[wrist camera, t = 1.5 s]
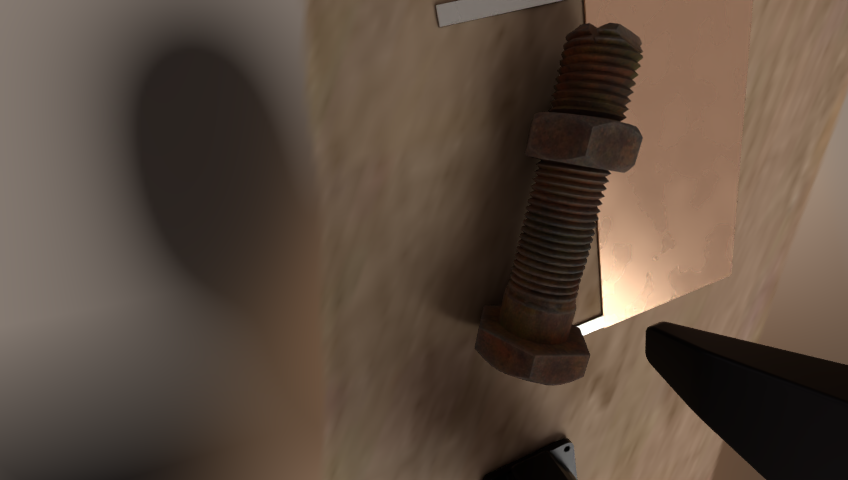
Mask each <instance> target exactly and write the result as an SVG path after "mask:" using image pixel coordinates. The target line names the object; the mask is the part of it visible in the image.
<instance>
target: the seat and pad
mask: <svg viewBox="0 0 848 480" xmlns="http://www.w3.org/2000/svg"><path fill="white" fill-rule="evenodd" d="M557 1H562V0H459V1H454V2H449V3H445V4H440V5H436V6H435V7H436V13H437V18H438V23H439V27H443V26H448V25H452V24H457V23H461V22H466V21H471V20H475V19H480V18H484V17H489V16H493V15H498V14H503V13H507V12H512V11H516V10H521V9H525V8H530V7H535V6H539V5H544V4H548V3H553V2H557ZM752 7H753V0H584V15H585V24H587V23H590V24H592V25H594V26H595V27H597V28H598V27H600V26H602V25H605V24H607V23H617V24H621V25H622V26H624V27H626V28H627V29H629V30H630V31H632V32H633V33H634V34H636V35H637V36H638V37H640V39H641V42H642V44H641V46H640V47H641V49H642V50H643V52H642V53H640V54H641V55H643V59H641V60H640V61H639V62H638V63H639V64H640V65H641V67H639V68H638V69H637V70H636V71H635V72H636V73H637V74H638V76H637V77H635V78H634V79H633V81H634V82H635V83H636V85H634V86H633V87H631V88H630V89H631V90H632V91H633V92H634V93H632V94H631V95H629V96H628V98H629V99H630V100H631V102H629V103H628V104H626V105H625V106H626V107H627V108H628V109H629V110H627V111H626V112H624V113H623V114H624V115H625V116H626V117H627V118H625V119H624V120H622V121H621V122H623V123H627V124H631V125H634V126H636V127H637V128H638V129H639V131H640V133H641V135H642V137H643V139H642V142H641V146H640V149H639V153H638V156H637V159H636V163H635V165H634V166H633V167H632V168H631V169H630V170H629V171H627V172H625V173H622V172H616V171H610V170H609V172H610V173H611V174H610V175H608V176H606V178H607V179H608V181H609V182H607V183H605V184H603V185H604V186H605V187H606V188H607V189H606V190H604V191H602V194H603V195H604V196H605V197H603V198H601V199H599V200H600V201H601V202H602V205H599V206H597V207H598V209H599V210H600V212H599V213H597V214H596V215H597V217H598V218H599V220H597V233H598V250H599V266H600V283H601V300H602V315H601V316H599V317H596V318H594V319H591V320H589V321H587V322H584V323H582V324H579V325H577V327H579V328H580V329H581V332H582V335H585V334H588V333H590V332H593V331H595V330H597V329H600V328H602V327H604V328H606V327H608V326H610V325H613V324H615V323H617V322H620V321H622V320H625V319H627V318H629V317H632V316H634V315H637V314H639V313H641V312H644V311H646V310H649V309H651V308H653V307H656V306H658V305H661V304H663V303H665V302H668V301H670V300H673V299H675V298H677V297H680V296H682V295H685V294H687V293H689V292H692V291H694V290H697V289H699V288H701V287H704V286H706V285H709V284H711V283H713V282H716V281H718V280H720V279H723V278H725V277H728V276H730V275H731V271H732V259H733V246H734V233H735V221H736V208H737V196H738V183H739V171H740V158H741V145H742V133H743V120H744V108H745V95H746V82H747V70H748V57H749V45H750V32H751V20H752Z"/></svg>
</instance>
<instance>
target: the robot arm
mask: <svg viewBox="0 0 848 480" xmlns="http://www.w3.org/2000/svg"><path fill="white" fill-rule="evenodd" d="M645 353H646V357H647V359H648V361H649V363H650V364H651V365H652V366H653V367H654V368H655V369H656V371H657V372H658V373H659V374H660V375H661V376H662V377H663V378H664V379H665V381H666V382H667V383H668V384H669V385H670V386H671V387H672V388H673V389H674V391H675V392H676V393H677V394H678V395H679V396H680V397H681V398H682V399H683V400H684V402H685V403H686V404H687V405H688V406H689V407H690V408H691V409H692V410H693V411H694V412H695V413H696V414H697V415H698V416H699V417H700V418H701V419H702V420H703V421H704V422H705V423H706V424H707V425H708V426H709V427H710V428H711V429H712V430H713V431H714V432H715V433H716V434H718V435H719V436H720V437H721V438H722V439H723V440H724V441H725V442H726V443H727V444H728V445H729V446H731V447H732V448H733V449H734V450H735V451H736V452H737V453H738V454H739V455H740V456H741V457H742V458H743V459H744V460H745V461H747V462H748V463H749V464H750V465H751V466H752V467H753V468H754V469H755V470H756V471H757V472H758V473H759V474H761V475H762V476H763V477H764V478H765V479H766V480H848V365H845V364H841V363H837V362H833V361H828V360H824V359H820V358H815V357H811V356H807V355H803V354H799V353H795V352H790V351H786V350H782V349H778V348H774V347H769V346H765V345H761V344H757V343H753V342H749V341H744V340H740V339H736V338H732V337H727V336H723V335H719V334H715V333H711V332H706V331H702V330H698V329H694V328H690V327H685V326H681V325H677V324H673V323H669V322H659V323H656V324H654V325H652V326H649V327H648V328H647V330H646V347H645ZM482 480H577V473H576V463H575V454H574V446H573V444H572V442H571V441H570V440H569V439H568V438H564V439H562V440H559V441H557V442H555V443H553V444H551V445H549V446H547V447H545V448H542V449H540V450H538V451H536V452H534V453H532V454H530V455H528V456H526V457H523V458H521V459H519V460H517V461H515V462H513V463H511V464H509V465H506V466H504V467H502V468H500V469H498V470H496V471H494V472H492V473H489V474H487V475H486V476H485V477H484V478H483V479H482Z"/></svg>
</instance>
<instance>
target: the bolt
mask: <svg viewBox="0 0 848 480" xmlns="http://www.w3.org/2000/svg"><path fill="white" fill-rule="evenodd" d="M566 40H567V43H565V44H564V46H563V48H564V50H565V51H563V52H562V54H561V55H562V57H563V60H561V61H560V65H561V66H562V67H561V68H559V70H558V72H559V74H560V76H558V77H557V78H556V80H557V82H558V84H557V85H555V86H554V89H555V90H556V92H555V93H554V94H552V96H553V98H554V99H555V100H553V101H551V105H552V107H553V108H552V109H550V110H548V111H549V112H537V113H536V114H534V116H533V120H532V124H531V128H530V133H529V137H528V142H527V146H526V152H525V155H526V156H530V157H535V158H539V159H540V160H541V162H539V163H537V164H536V165H537V166H538V167H539V169H538V170H536V171H534V172H535V173H536V174H537V177H535V178H533V180H534V181H535V182H536V183H535V184H533V185H531V187H532V188H533V189H534V191H532V192H530V193H529V194H530V195H531V196H532V197H533V198H530V199H528V202H529V203H530V204H531V205H529V206H527V207H526V209H527V210H528V211H529V212H527V213H525V214H524V215H525V217H526V218H527V219H524V220H523V223H524V224H525V225H526V226H523V227H522V228H521V230H522V231H523V232H524V233H521V234H520V235H519V237H521V238H522V239H521V240H519V241H518V244H519V245H520V246H518V247H517V249H516V250H517V251H518V253H516V254H515V258H516V259H515V260H514V261H513V264H514V266H513V267H512V273H511V274H510V277H511V279H509V283H508V286H507V287H506V288H505V292H504V296H503V301H502V305H501V306H494V305H484V306H483V311H482V316H481V320H480V325H479V329H478V334H477V339H476V344H475V349H476V350H477V351H478V353H479V354H480V355H481V356H482V357H483V358H484V359H485V360H486V361H487V362H488V363H489V364H490V365H491V366H493V367H494V368H496V369H497V370H499V371H501V372H503V373H505V374H508V375H511V376H514V377H517V378H520V379H523V380H526V381H530V382H535V383H539V384H544V385H562V384H565V383H569V382H572V381H574V380H577V379H579V378H581V377H584V374H585V371H586V367H587V364H588V361H589V358H590V353H589V351H588V348H587V345H586V343H585V340H584V337H583V335H582V332H581V329H580V328H579V327H577V326H574V325H572V322H573V318H574V314H575V310H576V304H575V303H576V297H577V294H578V293H577V291H578V289H579V283H580V282H581V280H580V278H581V277H582V275H583V270H584V269H585V266H584V265H585V264H586V263H587V259H586V257H588V256H589V252H588V250H590V248H591V246H590V243H592V241H593V239H592V237H591V236H593V235H594V234H595V233H594V231H593V230H592V229H593V228H596V227H597V225H596V224H595V222H594V221H597V220H599V218H598V217H597V215H596V214H597V213H599V212H600V210H599V209H598V207H597V206H599V205H602V202H601V201H600V200H599V199H601V198H603V197H605V196H604V195H603V194H602V191H604V190H606V189H607V188H606V187H605V186H604V185H603V184H605V183H607V182H609V181H608V179H607V178H606V176H608V175H610V174H611V173H610V172H609V170H610V171H616V172H622V173H625V172H627V171H629V170H630V169H631V168H632V167H633V166H634V165H635V163H636V159H637V156H638V153H639V149H640V146H641V142H642V139H643V137H642V135H641V133H640V131H639V129H638V128H637V127H636V126H634V125H631V124H627V123H623V122H621V121H622V120H624V119H625V118H627V117H626V116H625V115H624V114H623V113H624V112H626V111H627V110H629V109H628V108H627V107H626V106H625V105H626V104H628V103H629V102H631V100H630V99H629V98H628V96H629V95H631V94H632V93H634V92H633V91H632V90H631V89H630V88H631V87H633V86H634V85H636V83H635V82H634V81H633V79H634V78H635V77H637V76H638V74H637V73H636V72H635V71H636V70H637V69H638V68H639V67H641V65H640V64H639V63H638V62H639V61H640V60H641V59H643V55H641V54H640V53H642V52H643V50H642V49H641V47H640V46H641V44H642V42H641V39H640V37H638V36H637V35H636V34H634V33H633V32H632V31H630V30H629V29H627V28H626V27H624V26H622V25H621V24H617V23H607V24H605V25H602V26H600V27H598V28H597V27H595V26H594V25H592V24H590V23H587V24H583V25H580V26H579V27H578V28H576V29H575V30H574V31H572V32H571V33H569V34H568V35H567V36H566Z"/></svg>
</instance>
